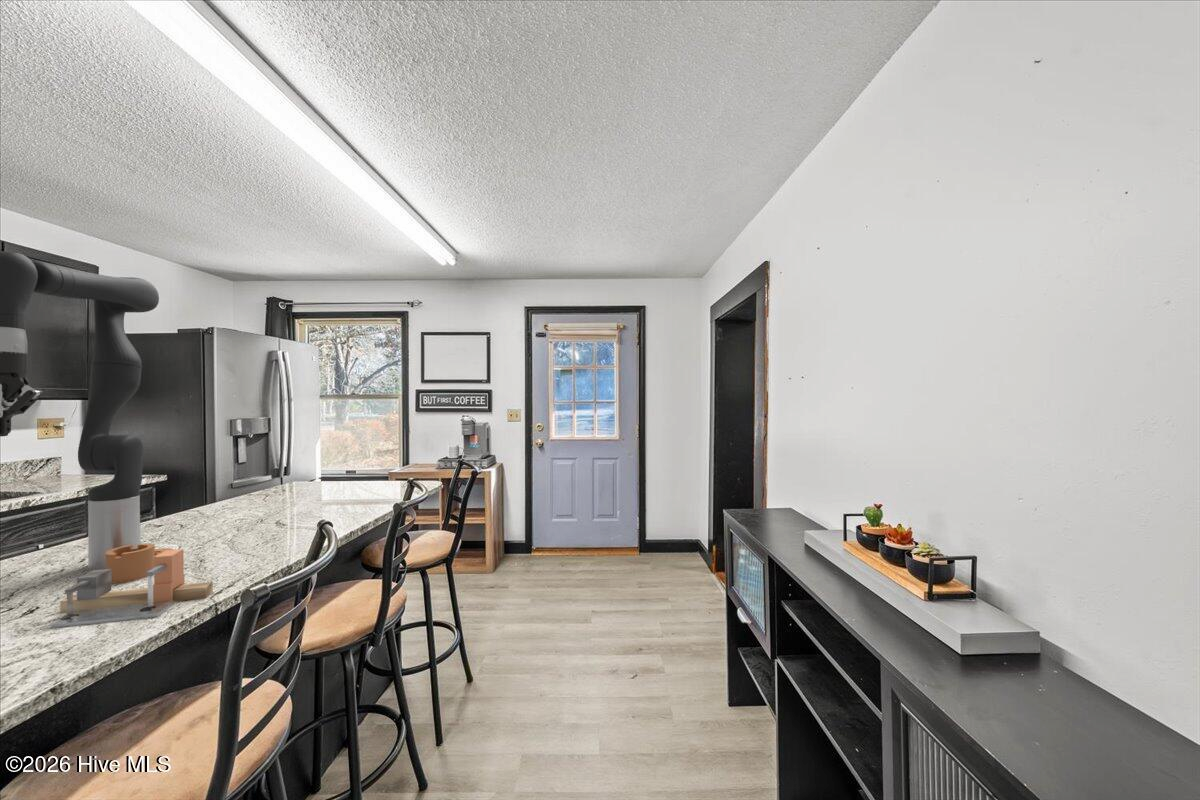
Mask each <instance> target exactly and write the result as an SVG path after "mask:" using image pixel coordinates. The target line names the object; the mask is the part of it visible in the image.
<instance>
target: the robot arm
mask: <svg viewBox="0 0 1200 800" xmlns="http://www.w3.org/2000/svg"><path fill="white" fill-rule="evenodd" d="M34 293H36V294H40V295H47V296H53V297H58V298H59V297H60V298H65V299H66V298H68V299H76V300H77V299H78V300H93V304H94V305H93V307H94V308H93V310H94V337H93V341H94V342H93V349H92V350H93V352H92V357H91V358H92V359H91V364H90V365H91V367H90V372H89V374H90V376H89V387H88V400H87V406H86V407H87V408H86V413H85V417H84V422H83V425H82V431H81V435H80V439H79V443H78V447H77V448H78V449H77V461H78V464H79V466H80V468H81V469H82V470H83V471H84V472H88V473H89V472H91V473H97V472H98V473H99V472H114V476H113V478H112V479H111V480H110V481H108V482H106V483H102V484H100V485H97V486H94V487H92V488H90V489H89V490H88V492H87V495H88V496H87V501H88V503H87V505H88V509H87V511H88V512H87V513H88V515H87V516H88V518H87V519H88V523H87V524H88V525H87V526H88V533H87V535H88V544H87V545H88V547H87V548H88V549H87V551H88V552H87V555H88V556H87V558H88V561H87V562H88V563H87V564H88V566H87V567H88V570H90V571H93V570H104V569H105V553H106V552H107V551H109V550H111V549H114V548H118V547H122V546H127V545H133V548H137V547H138V545H139V544H142V543H141V539H142V537H141V528H142V527H141V520H140V518H141V510H140V509H141V508H140V507H141V505H140V504H141V502H140V501H141V500H140V499H141V498H140V497H141V495H140V494H141V493H140V492H141V486H142V480H143V465H144V453H145V452H144V445H143V442H142V440H141V438H140V437H139V436H137V435H134V434H110V430H111V428H112V423H113V420H114V418H115V417H116V415H117V413H119V411H120V410H121V409H122V408H123V406H125V405H126V404H127V402H129V400H130V399H131V398H132V397H133V396H135V394H136V393H137V391H138V389H139V388H140V385H141V379H142V369H143V368H142V367H143V366H142V365H143V364H142V359H141V357H140V355H139V353H138V351H137V350H136V348H135V347H134V345H133V344H132V343H131V341H130V339H129V338H128V336H127V333H126V331H125V314H126V313H147V312H150V311H153V310H155V309H156V308H157V307H158V305H159V302H160V301H159V300H160V297H159V292H158V290H157V288H156V287H155V286H154V284H152V283H151V282H150V281H148V280H146V279H143V278H140V277H129V276H128V277H126V276H125V277H123V276H122V277H121V276H117V277H116V276H109V275H105V274H98V273H94V272H89V271H84V270H80V269H75V268H71V267H67V266H64V265H60V264H59V265H58V264H54V263H49V262H45V261H40V260H38V261H37V260H31V259H30V257H28V256H26V255H24V254H22V253H19V252H15V251H5V250H4V251H1V250H0V437H8V436H9V434H11V431H12V418H13V417H15V416H18V415H24V413H25V412H26V411H28V410H29V408H30V407H32V406H33V405H34V404H35V403H36V402H37V401H38V400H39V399H40V398H41V397H42V396H43V395H44V392H43V390H40V389H35V388H34V387H31V386H30V385H29V384H30V383H29V380H28V379H27V377H26V375H27V374H28V373H29V372H28V371H29V370H28V337H27V332H26V331H27V330H26V310H27V307H28V305H29V303H30V301H31V298H32V295H33V294H34ZM18 397H19V398H18Z"/></svg>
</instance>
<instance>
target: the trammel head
mask: <svg viewBox="0 0 1200 800" xmlns="http://www.w3.org/2000/svg"><path fill="white" fill-rule="evenodd" d="M184 571H185V570H184V549H183V548H179V549H173V550H166V551H165V552H163V553H161V554H159V555H157V556H155V557H154V568H153V569H151V570H149V571H148V572H146V576H147V588H148V607H151V606H153V603H157V602H167V601H173V589H174V588H176V587H177V586H179V585H185V584H186V583H185V581H186V579H185V575H186V574H185V573H184Z"/></svg>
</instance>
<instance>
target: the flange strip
mask: <svg viewBox="0 0 1200 800" xmlns="http://www.w3.org/2000/svg"><path fill="white" fill-rule="evenodd" d="M175 605H176V601H167V602H157V603H153V606H151V607H148V603H147V604H137V605H128V606H118V607H108V608H98V609H88V610H77V611H73V614H72V615H67V614H66V615H65V616H62V617H61V618H59V620H56V621H55V622H53V623H52V624H50V625H49V626H50V629H56V628H57V629H58V628H67V627H76V626H83V625H84V626H85V625H93V624H94V625H95V624H102V623H104V624H105V623H112V622H113V623H114V622H123V621H125V622H126V621H131V620H132V621H133V620H142V619H153V618H158V617H160V615H163V614H164V613H165V612H166V611H168V610H169V609H171V608H172V607H174V606H175Z"/></svg>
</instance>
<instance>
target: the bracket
mask: <svg viewBox="0 0 1200 800" xmlns="http://www.w3.org/2000/svg"><path fill="white" fill-rule="evenodd" d="M166 550H174V549H173V548H169V547H168V548H166V547H165V548H162V547H161V548H155V544H153V543H146V542H145V543H141V544H139V545H138V547H137V548H133V545H127V546H122V547H118V548H114V549H111V550H109V551H107V552H106V553H105V569H111V584H118V583H127V582H132V581H137V580H141V579H145V578H148V576H146V572H148V571H149V570H151V569H153V568H154V557H155V556H157V555H159V554H161V553H163V552H165V551H166Z"/></svg>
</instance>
